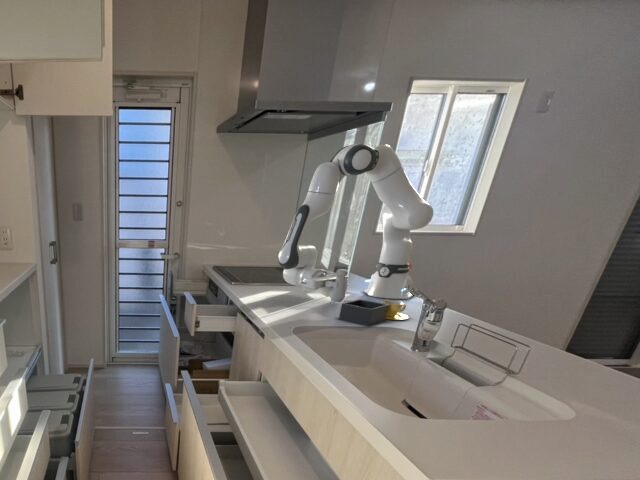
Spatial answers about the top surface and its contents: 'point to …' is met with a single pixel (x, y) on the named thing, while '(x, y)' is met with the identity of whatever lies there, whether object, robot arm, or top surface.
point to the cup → (395, 310)
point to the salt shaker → (339, 286)
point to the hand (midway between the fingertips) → (341, 284)
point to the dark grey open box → (363, 312)
